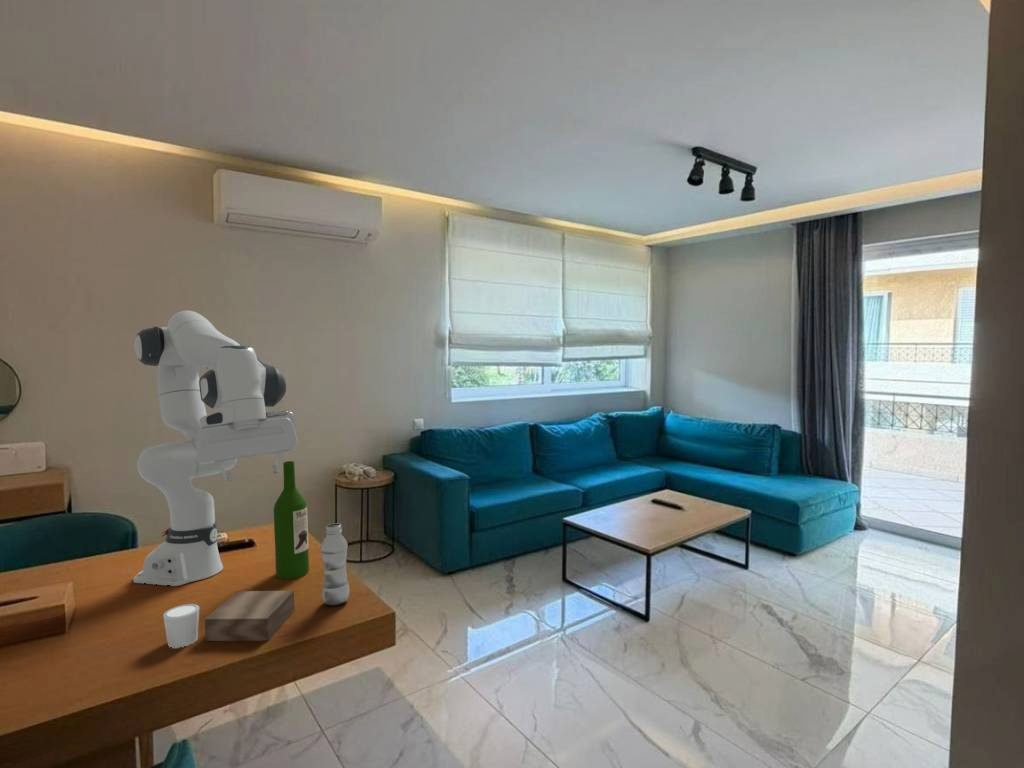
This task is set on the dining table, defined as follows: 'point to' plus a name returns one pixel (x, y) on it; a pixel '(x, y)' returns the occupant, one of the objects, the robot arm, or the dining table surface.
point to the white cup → (182, 625)
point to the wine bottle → (291, 529)
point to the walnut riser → (249, 616)
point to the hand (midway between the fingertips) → (252, 477)
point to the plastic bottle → (334, 566)
